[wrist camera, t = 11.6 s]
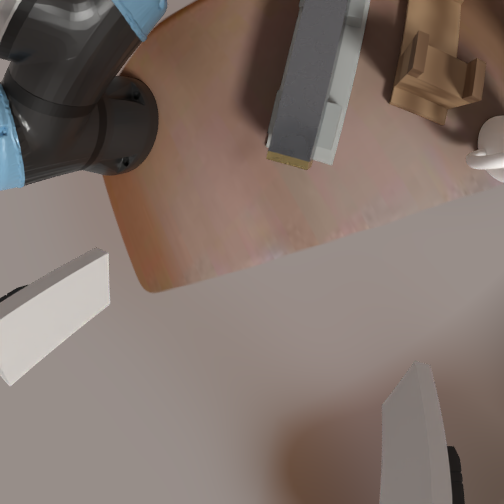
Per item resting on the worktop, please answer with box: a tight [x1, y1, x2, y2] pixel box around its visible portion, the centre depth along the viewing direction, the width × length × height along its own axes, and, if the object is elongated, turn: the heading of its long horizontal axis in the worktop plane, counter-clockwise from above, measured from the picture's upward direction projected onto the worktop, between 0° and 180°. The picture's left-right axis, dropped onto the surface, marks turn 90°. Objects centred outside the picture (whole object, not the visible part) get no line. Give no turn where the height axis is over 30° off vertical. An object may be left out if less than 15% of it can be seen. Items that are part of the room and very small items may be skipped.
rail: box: [266, 0, 351, 170], centre depth 24 cm, size 26×4×4 cm, turn 167°
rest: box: [266, 0, 370, 165], centre depth 27 cm, size 8×24×3 cm, turn 167°
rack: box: [389, 0, 486, 125], centre depth 18 cm, size 7×24×10 cm, turn 167°
